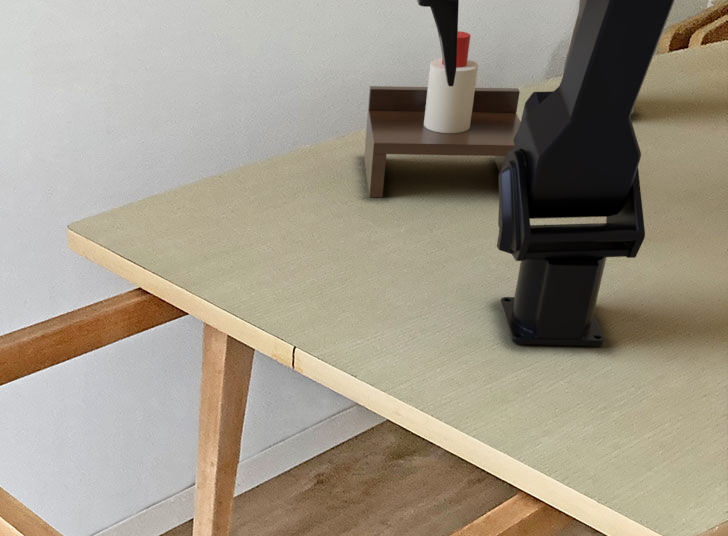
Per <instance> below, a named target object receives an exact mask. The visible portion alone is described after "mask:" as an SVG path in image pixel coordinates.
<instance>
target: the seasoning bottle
mask: <svg viewBox="0 0 728 536" xmlns="http://www.w3.org/2000/svg"><path fill="white" fill-rule="evenodd" d="M470 43H471V34H470V33H468V32H465V31H459V30H458V37H457V67H456V74H455V80H454V85H453V86H448V83H447V79H446V73H445V68H444V62H443V57H439V58H436V59H433V60H432V61H430V64H429V73H428V81H427V87H428V90H427V99H426V109H425V118H424V126H425V127H426V128H427V129H429V130H431V131H435V132H439V133H460V132H464V131H467V130H468V129H469V128H470V122H471V115H472V107H473V100H474V93H475V88H476V85H477V77H478V69H479V64H478V63H477V62H476V61H474V60H471V59H468V58H469V51H470Z"/></svg>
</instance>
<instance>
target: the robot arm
mask: <svg viewBox="0 0 728 536" xmlns="http://www.w3.org/2000/svg"><path fill="white" fill-rule="evenodd" d="M675 1H676V0H580V3H579V11H578V16H577V19H576V23H575V27H574V31H573V35H572V39H571V42H570V41H569V42H570V46H569V45H568V47H569V50H568V49H567V53H568V54H566V57H565V63H564V67H563V73H562V74H563V75H562V78H561V80H560V82H559V86H557V88H556V89H555V90H553V91H551V90H550V91H549V90H548V91H533V92H532V93H531V94H530V96H529V97H528V98H527V100H526V101H525V103H524V106H523V110H522V115H521V118H520V119H521V120H520V122H521V123H520V126H519V129H518V132H517V134H516V136H515V137H514V143H515V144H514V147H513V150H512V151H509V152H508V154H507V155H506V158H505V161H504V165H503V166H502V168H501V172H499V173H498V177H497V179H498V219H497V221H498V223H497V225H498V236H497V242H496V248H497V249H498V251H501V252H504V253H507V254H511V256H512V257H513V259H514V261H515V262H520V263H519V268H518V274H517V281H516V285H515V292H514V296H503V297H501V298H500V302H499V306H500V309H501V312H502V316H503V319H504V322H505V324H506V329H507V332H508V334H509V337H510V341H511V342H512V343H514V344H518V345H545V346H546V345H549V346H551V345H552V346H553V345H554V346H588V347H589V346H590V347H591V346H592V347H594V346H595V347H599V346H603V345H604V343H605V340H606V339H605V335H604V333H603V331H602V329H601V327H600V325H599V322H598V321H597V318H596V316H595V309H596V306H597V300H598V296H599V292H600V288H601V283H602V279H603V274H604V270H605V266H606V261H607V258H627V259H634V258H637V255H638V253H639V252H640V249H641V247H642V245H643V243H644V240H645V238H646V229H645V220H644V211H643V201H642V191H641V181H640V173H639V172H640V171H639V164H640V161H641V158H642V152H641V148H640V145H639V142H638V141H639V140H638V138H637V135H636V132H635V128H634V125H633V122H632V114H633V113H632V110H633V107H634V108H635V106H634V105H636V101H637V99H638V97H639V94H640V91H641V89H642V86H643V84H644V81H645V79H646V76H647V74H648V71H649V68H650V65H651V63H652V60H653V58H654V55H655V52H656V49H657V48H658V45H659V43H660V39H661V37H662V35H663V32H664V30H665V27H666V24H667V22H668V18H669V16H670V14H671V11H672V9H673V6H674V4H675ZM416 2H417V4H418V6H420V7H426V8H428V7H429V8H430V11H431V13H432V16H433V21H434V24H435V27H436V30H437V35H438V40H439V45H440V51H441V56H442V57H443V62H444V68H445V73H446V79H447V83H448V86H453V85H454V80H455V74H456V67H457V37H458V31H459V4H460V3H459V2H460V1H459V0H416ZM442 57H441V58H442ZM633 111H634V110H633ZM631 113H632V114H631ZM576 218H578V219H579V218H581V219H582V218H606V221H605V222H601V223H600V222H599V223H598V222H597V223H596V222H595V223H564V224H562V223H560V224H531V220H541V219H543V220H544V219H545V220H546V219H576Z"/></svg>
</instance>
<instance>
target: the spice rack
mask: <svg viewBox="0 0 728 536" xmlns="http://www.w3.org/2000/svg"><path fill="white" fill-rule="evenodd" d="M427 90H428V86H388V85H387V86H386V85H384V86H383V85H381V86H379V85H369V90H368V91H369V92H368V106H367V118H366V128H365V129H366V130H365V131H366V132H365V141H364V142H365V143H364V154H363V155H364V156H363V157H364V158H363V159H364V166H365V174H366V181H367V188H368V196H369V198H383V196H384V185H385V176H386V175H385V173H386V164H387V163H386V161H387V155H405V156H406V155H408V156H409V155H410V156H411V155H413V156H415V155H416V156H465V157H466V156H471V157H473V156H474V157H494V162H495V165H496V167H497V169H498V172H499V173H500V172H501V168H502V166H503V165H504V161H505V158H506V155H507V154H508V152H509V151H512V150H513V147H514V144H515V143H514V137H515V136H516V134H517V132H518V129H519V126H520V123H521V120H520V118H519V116H518V114H517V112H518V106H519V99H520V93H521V92H520V89H519V88H518V87H517V88H515V87H475V93H474V100H473V107H472V115H471V122H470V128H469V129H468V130H467V131H464V132H460V133H439V132H435V131H431V130H429V129H427V128H426V127H425V126H424V118H425V109H426V99H427Z"/></svg>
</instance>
